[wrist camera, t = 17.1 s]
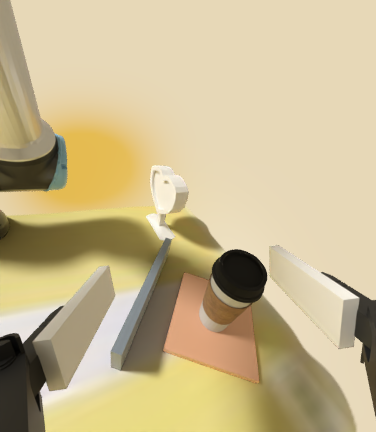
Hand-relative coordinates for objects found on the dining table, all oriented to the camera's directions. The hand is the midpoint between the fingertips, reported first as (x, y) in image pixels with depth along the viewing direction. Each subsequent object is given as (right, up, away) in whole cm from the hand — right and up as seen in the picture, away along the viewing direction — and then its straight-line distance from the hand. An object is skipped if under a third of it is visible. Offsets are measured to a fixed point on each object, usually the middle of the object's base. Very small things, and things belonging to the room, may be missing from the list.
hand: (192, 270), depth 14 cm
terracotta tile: (+5, -16, +21) cm, 27 cm away
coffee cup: (+5, -15, +21) cm, 26 cm away
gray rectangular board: (-9, -12, +22) cm, 26 cm away
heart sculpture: (-9, +1, +41) cm, 42 cm away
